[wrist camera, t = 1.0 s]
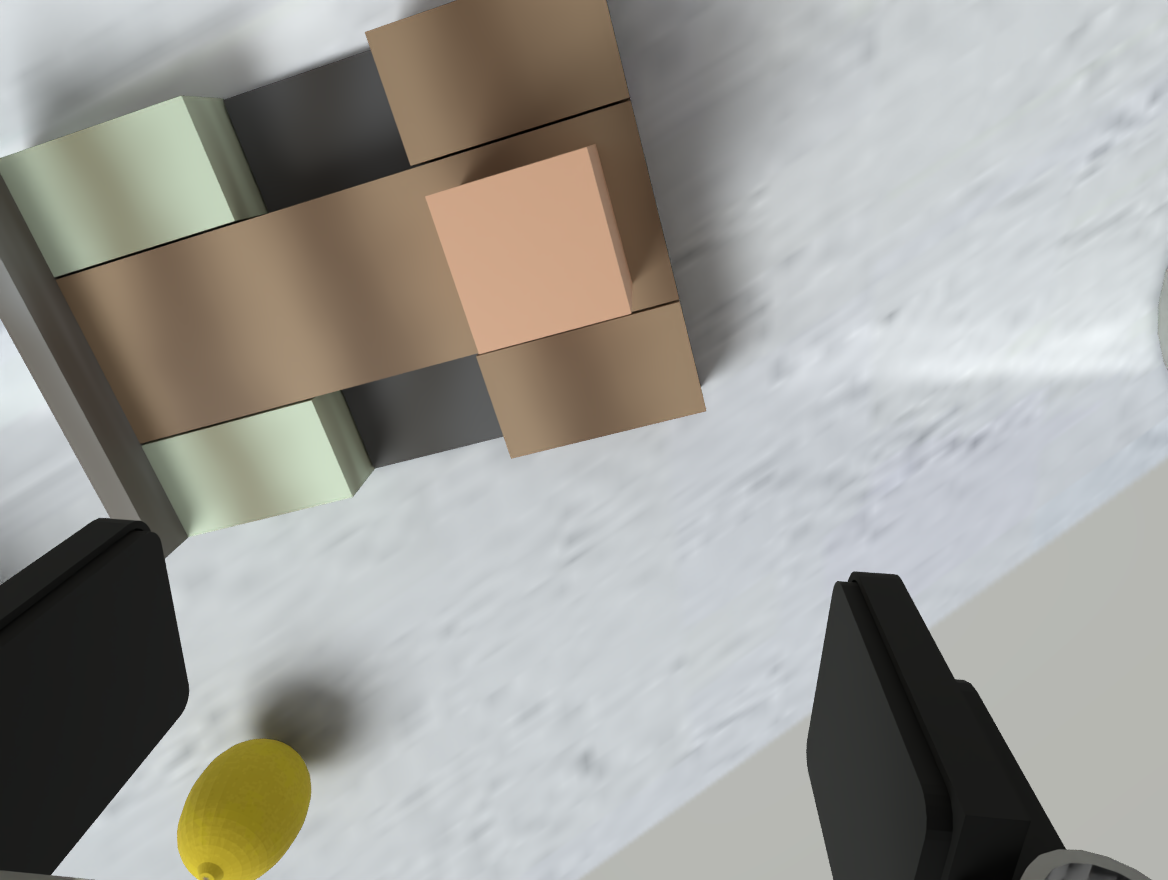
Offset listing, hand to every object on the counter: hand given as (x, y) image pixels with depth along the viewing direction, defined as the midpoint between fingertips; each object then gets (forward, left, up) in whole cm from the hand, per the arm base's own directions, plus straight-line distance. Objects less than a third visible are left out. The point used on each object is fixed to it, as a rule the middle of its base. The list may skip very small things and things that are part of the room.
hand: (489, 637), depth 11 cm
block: (0, -3, -20) cm, 20 cm away
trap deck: (+8, -3, -23) cm, 25 cm away
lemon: (+22, +19, -23) cm, 37 cm away
